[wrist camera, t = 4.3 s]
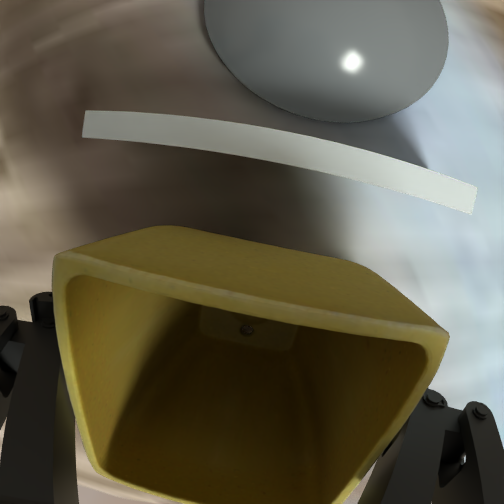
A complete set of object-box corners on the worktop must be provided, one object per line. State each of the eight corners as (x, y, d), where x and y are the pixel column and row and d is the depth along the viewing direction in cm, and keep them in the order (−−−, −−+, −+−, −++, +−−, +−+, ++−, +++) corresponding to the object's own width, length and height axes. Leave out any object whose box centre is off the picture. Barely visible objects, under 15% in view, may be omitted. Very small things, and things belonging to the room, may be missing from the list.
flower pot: (175, 188, 14) (42, 249, 6) (366, 227, 14) (462, 335, 5) (162, 347, 17) (91, 473, 8) (315, 379, 17) (325, 523, 8)
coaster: (186, 99, 13) (181, 97, 12) (233, -79, 9) (231, -87, 8) (427, 152, 12) (435, 152, 12) (441, -32, 9) (447, -38, 8)
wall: (130, 137, 13) (81, 137, 10) (133, 117, 13) (85, 110, 9) (427, 196, 13) (471, 214, 9) (432, 175, 13) (477, 187, 9)
